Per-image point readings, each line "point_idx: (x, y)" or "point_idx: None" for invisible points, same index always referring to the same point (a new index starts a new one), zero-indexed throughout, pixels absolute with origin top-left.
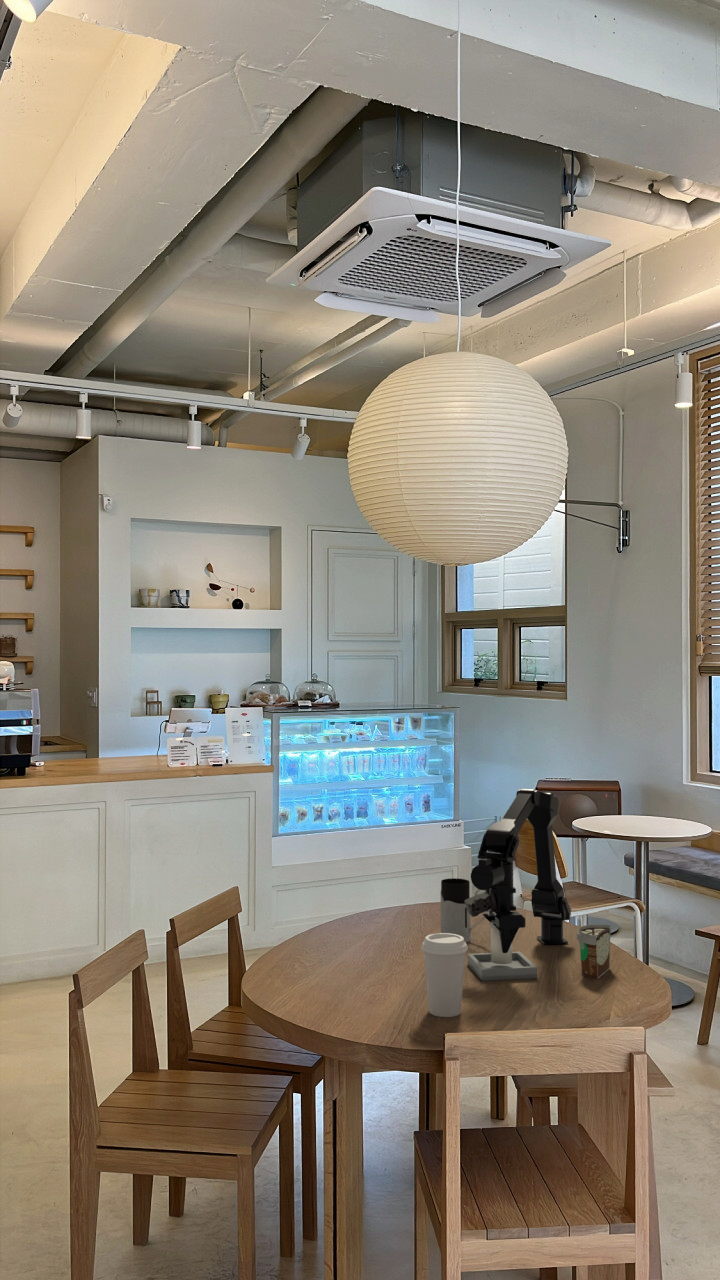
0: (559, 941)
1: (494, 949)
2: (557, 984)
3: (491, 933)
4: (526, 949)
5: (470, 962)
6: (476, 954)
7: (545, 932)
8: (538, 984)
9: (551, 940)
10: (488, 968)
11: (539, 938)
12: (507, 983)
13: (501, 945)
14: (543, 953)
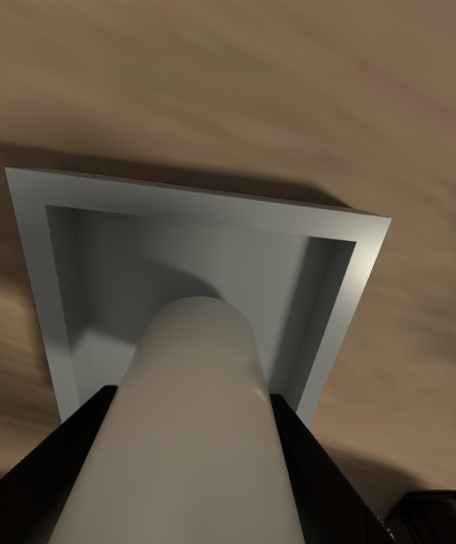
0: (391, 526)
1: (151, 358)
2: (16, 423)
3: (162, 513)
4: (401, 451)
5: (308, 204)
6: (351, 265)
7: (445, 539)
8: (11, 377)
9: (405, 519)
10: (40, 225)
11: (453, 500)
12: (17, 277)
13: (74, 430)
14: (342, 472)
